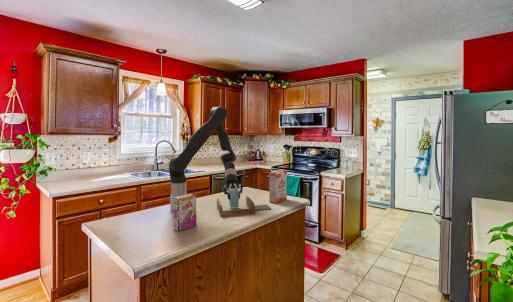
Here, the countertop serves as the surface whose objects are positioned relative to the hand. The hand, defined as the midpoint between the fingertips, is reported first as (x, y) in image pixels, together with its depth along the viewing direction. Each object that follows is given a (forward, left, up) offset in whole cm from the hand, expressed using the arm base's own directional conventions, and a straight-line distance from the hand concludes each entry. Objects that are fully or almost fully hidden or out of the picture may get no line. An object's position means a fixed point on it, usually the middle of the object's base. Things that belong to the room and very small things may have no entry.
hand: (234, 199), depth 166 cm
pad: (+14, -10, -7) cm, 18 cm away
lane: (-1, -2, -7) cm, 7 cm away
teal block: (+1, +2, -5) cm, 6 cm away
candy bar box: (-38, -7, -7) cm, 39 cm away
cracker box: (+34, -7, -7) cm, 35 cm away
